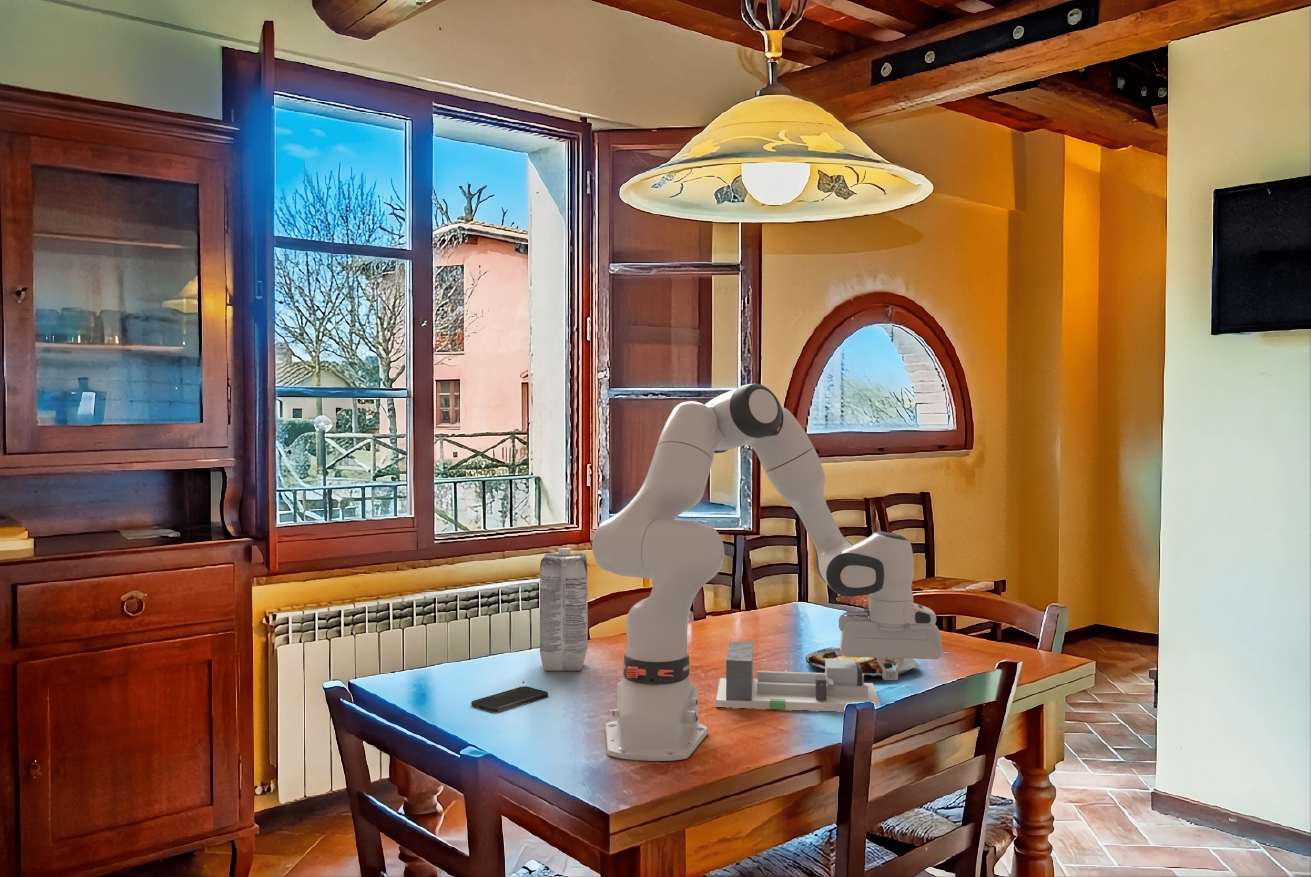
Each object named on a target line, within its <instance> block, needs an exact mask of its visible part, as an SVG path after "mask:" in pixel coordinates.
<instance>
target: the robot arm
mask: <svg viewBox="0 0 1311 877" xmlns="http://www.w3.org/2000/svg"><path fill="white" fill-rule="evenodd" d="M746 445H747V446H748V447H750V448H751V449H753V450H754V452H755V453H756V455H757V458H758V460H759V462H760V464H761V467H762V468H763V471H764V473H765V474H766V476H767V479H768V480H769V481H770V483H771V484H772V486H773V488H775V491H776V492H777V493H778V494H779V495H780V496H781V498H782V499H783V500H784V501H786V502H787V504H789V505H790V507H792V508H793V510H794V511H795V512H796V514H797V515H798V517H799V518H800V520H801V522H802V524H803V526H804V529H805V530H806V532H807V534H808V536H809V538H810V540H811V543H812V544H813V547H814V551H815V563H816V565H815V566H816V570H817V573H818V575H819V577H820V579H821V580H822V581H823V582H824V583H825V584H826V585H827V586H828V587H829V588H830V589H831V590H832V591H833V592H834V593H836V594H837V595H839V596H842V597H845V598H846V597H848V598H855V597H859V596H867V595H868V610H858V611H857V610H855V611H854V610H846V612H843V613H842V614H840V616H839V619H838V628H839V630H840V632H841V635H840V641H839V642H840V643H839V648H840V651H841V653H842V654H843V655H844V656H845V657H870V658H877V661H878V663H879V665H880V667H881V669H882V676H883V677H882V680H884V681H885V680H890V681H891V680H892V681H895V680H897V681H898V680H899V675H898V672H899V670H900V669H901V667H902V666H903V664H904V659H913V660H939V659H940V658H941V657H942V656H943V644H942V636H941V635H942V634H941V632H940V629H939V627H938V626H937V625H936V622H937V615H936V613H935V611H934V610H932V609H931V608H930V607H927V606H924V605H921V604H919V603H915V602H914V594H913V591H912V583H913V580H914V554H913V553H914V552H913V548H912V544H911V542H910V541H909V539H907V538H906V537H904V536H903V535H901V534H897V533H894V532H890V531H889V532H888V531H881V530H880V531H874V532H873V533H872V534H871V535H870V536H868V537H866V538H865V539H863V540H861V541H859V542H857V543H855V544H853V543H852V542H850V541H849V540H848V539H846V537H845V536H844V535H843V534H842V533H841V530H840V527H839V526H838V524H837V523H836V520H835V518H834V516H833V514H832V512H831V510H830V509H829V505H828V504H827V502H826V498H825V481H826V475H825V472H824V469H823V465H822V463H821V460H820V457H819V455H818V453H817V451H816V449H815V447H814V445H813V443H812V441H811V440H810V438H809V436H808V434H807V433H806V431H805V430H804V428H803V427H802V425H801V424H800V422H799V421H798V420H797V418H796V417H795V416H794V415H793V413H792V412H791V411H790V410H789V409H787V408H786V407H783V406H782V405H781V403H780V401H779V399H778V398H777V396H776V395H775V393H774V392H772V390H771V389H769V388H768V387H767V386H765V385H763V384H761V383H747V384H743V385H740V386H738V387H737V388H736V389H735V388H734V389H733V390H730V391H727V392H723V393H721V394H719V395H717V396H715V397H714V398H712V399H710V400H708V401H707V402H706V403H701V402H698V401H693V400H692V401H684V402H681V403H679V404H678V405H676V406H675V407H674V408H673V409H672V411H671V413H670V415H668V418H667V420H666V421H665V424H664V426H663V428H662V430H661V433H660V436H659V438H658V441H657V445H656V448H655V451H654V453H653V457H652V460H651V462H650V466H649V469H648V471H647V473H646V476H645V479H644V481H643V483H642V485H641V487H640V489H639V490H638V491H637V493H636V494H635V495H634V497H633V498H632V499H631V500H630V502H628V503H627V505H625V507H623V508H622V509H621V510H620V511H619V512H617V513H616V514H614V515H612V516H611V517H610V518H608V519H605V520H604V521H603V522H601V523H600V524H599V526H598V527H597V528H596V531H595V532H594V534H593V539H592V542H591V544H592V545H591V550H592V555H593V558H594V561H595V563H596V564H597V565H598V567H599V568H600V569H602V570H605V571H607V572H610V573H612V574H615V575H618V576H621V577H630V578H641V579H649V580H652V589H651V591H650V593H649V596H648V597H646V598H643V599H641V600H640V601H638V602H637V603H635V604H634V605H633V606H631V608H630V609H629V611H628V613H627V616H626V633H625V634H626V644H625V645H626V651H625V654H624V658H623V662H622V663H623V665H622V667H623V671H622V672H623V674H622V675H623V678H622V680H620V681H619V682H617V683H616V684H617V685H616V690H617V691H616V692H617V694H616V709H613V710H612V716H613V718H616V720H612V721H608V722H606V723H605V726H604V727H605V728H604V732H605V743H606V753H607V755H608V756H611V757H613V758H617V759H623V760H624V759H625V760H633V761H645V762H646V761H648V762H649V761H650V762H651V761H652V762H654V761H655V762H663V761H664V762H666V761H667V762H668V761H669V762H671V761H680V760H685V759H688V758H689V757H690V756H691V755H692V753H693V752H694V751H695V750H696V749H697V747H698V746H699V745H700V744H701V742H702V741H703V740H704V739H705V737H706V736H707V735H708V734H709V729H708V728H709V727H708V726H706V725H704V724H701V723H699V709H698V708H699V707H698V706H699V704H698V702H699V701H698V687H697V685H696V684H695V683H694V682H692V681H691V678H690V677H689V676H690V666H691V664H690V663H691V662H690V655H689V654H688V653H687V652H688V630H689V628H688V627H689V626H688V625H689V616H690V611H691V607H692V604H693V602H694V600H695V598H696V596H697V594H698V592H699V591H700V590H701V589H702V588H703V587H704V586H705V585H706V584H707V583H708V582H709V581H711V580H712V579H713V578H715V576H716V575H717V574H718V573H719V572H720V570H721V568H722V566H723V562H724V560H725V559H724V558H725V545H724V542H723V539H722V537H721V536H720V533H719V532H718V531H717V529H715V528H714V527H712V526H708V525H705V524H701V523H698V522H695V521H691V520H681V519H680V520H677V519H676V518H678V516H679V515H681V514H683V513H684V512H686V511H688V510H690V509H692V508H694V507H695V506H697V505H698V504H699V503H700V501H701V500H702V498H703V496H704V494H705V490H706V486H707V484H708V483H707V482H708V480H709V475H710V471H711V467H712V465H713V460H714V457H715V456H714V455H715V454H721V453H726V452H727V451H729V450H732V449H736V448H739V447H743V446H746ZM885 658H895V660H896V662H897V664H896V666H894V668H893V669H891V668H888V669H887V668H886V669H885V667H884V665H883V663H885Z"/></svg>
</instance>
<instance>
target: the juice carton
mask: <svg viewBox="0 0 1311 877" xmlns="http://www.w3.org/2000/svg"><path fill="white" fill-rule="evenodd" d="M571 549H572V548H570V547H569V548H567V547H566V548H564V547H562V548H558V549H557V553H553V552H547V553H545V554H544V556H543V557H542V559H541V560H540V563H539V564H540V565H539V567H540V569H539V655H540V659H541V664H542V668H543V671H545V672H546V671H547V672H561V671H562V672H580V671H582V669H583V666H584V662H585V660H586V654H587V651H588V562H587V559H588V558H587V556H586V554H585V553H583V552H578V553H571V552H572V551H571Z"/></svg>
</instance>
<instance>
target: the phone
mask: <svg viewBox="0 0 1311 877" xmlns="http://www.w3.org/2000/svg"><path fill="white" fill-rule="evenodd" d="M548 697H549V692H548V691H546V690H542V689H538V688H535V687H531V686H525V685H524V686H519V687H515V688H512V689H509V690H505V691H502V692H498V693H495V694H491V695H488V696H484V697H480V698H478V699H474V700H472V701H471V702H470V703H471V704H470V705H471V707H472V706H473V707H472V708H475V709H478V708H479V709H478V710H481V711H485V712H489V713H492V712H498V713H501V711H502V712H504V710H505V711H508V710H510V708H511V709H514V708H517V707H516V706H518V707H520V705H521V706H523V705H522V704H524V705H526V704H525V703H527V704H529V703H528V702H530V703H533V702H537V701H539V699H540V700H542V699H546V698H548ZM536 700H537V701H536ZM513 707H514V708H513ZM507 709H508V710H507Z"/></svg>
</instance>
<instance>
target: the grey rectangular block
mask: <svg viewBox="0 0 1311 877" xmlns="http://www.w3.org/2000/svg"><path fill="white" fill-rule="evenodd" d="M725 664H726V665H725V666H726V667H725V673H726V674H725V678H726V700H727V701H746V700H749V701H750V700H752V687H753V679H754V641H739V640H738V641H736V640H735V641H734V640H730V641H729V643H728V648H727V655H726V663H725Z"/></svg>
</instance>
